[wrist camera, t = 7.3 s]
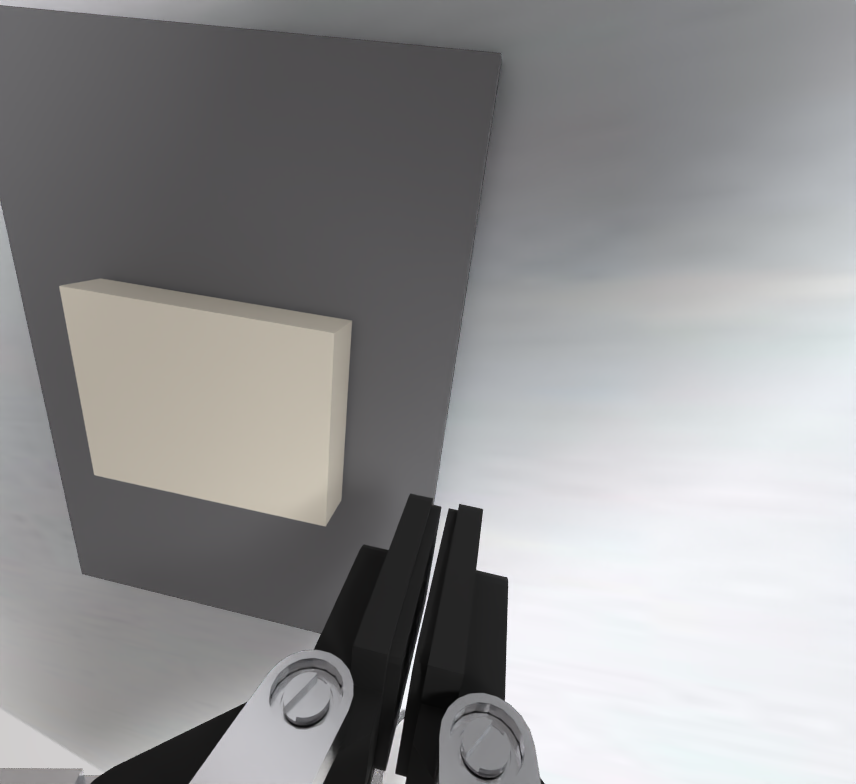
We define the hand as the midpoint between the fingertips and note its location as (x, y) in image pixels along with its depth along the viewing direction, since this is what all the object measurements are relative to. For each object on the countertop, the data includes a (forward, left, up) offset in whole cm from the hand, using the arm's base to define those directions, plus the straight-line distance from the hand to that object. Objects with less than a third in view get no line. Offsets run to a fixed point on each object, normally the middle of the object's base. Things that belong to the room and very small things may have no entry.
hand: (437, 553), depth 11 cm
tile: (0, -4, -5) cm, 6 cm away
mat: (0, -9, -7) cm, 11 cm away
